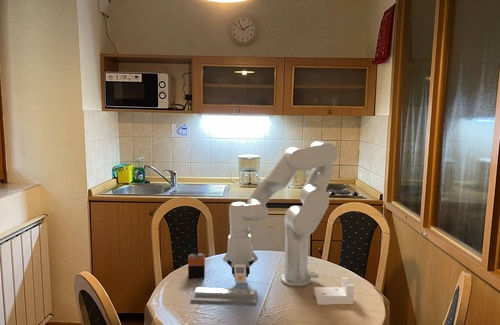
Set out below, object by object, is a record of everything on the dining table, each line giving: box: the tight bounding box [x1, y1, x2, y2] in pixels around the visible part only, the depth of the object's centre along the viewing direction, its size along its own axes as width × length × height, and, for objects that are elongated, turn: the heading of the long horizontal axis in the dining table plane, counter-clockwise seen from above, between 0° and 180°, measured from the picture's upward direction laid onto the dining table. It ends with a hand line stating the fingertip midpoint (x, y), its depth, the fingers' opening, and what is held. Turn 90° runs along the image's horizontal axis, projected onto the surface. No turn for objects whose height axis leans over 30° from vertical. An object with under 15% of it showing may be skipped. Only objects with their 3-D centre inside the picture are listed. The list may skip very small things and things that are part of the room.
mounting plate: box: [190, 286, 258, 306], centre depth 142 cm, size 24×10×1 cm, turn 87°
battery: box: [187, 252, 206, 280], centre depth 159 cm, size 4×7×10 cm, turn 96°
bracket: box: [313, 277, 355, 305], centre depth 141 cm, size 13×7×8 cm, turn 91°
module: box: [234, 261, 247, 284], centre depth 153 cm, size 4×8×7 cm, turn 177°
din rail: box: [195, 287, 255, 298], centre depth 141 cm, size 22×4×2 cm, turn 87°
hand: (240, 275), depth 153 cm, fingers closed on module, 4 cm apart
